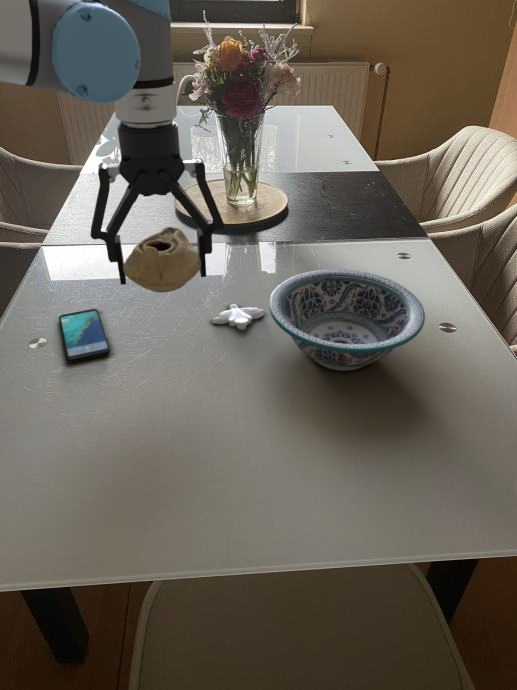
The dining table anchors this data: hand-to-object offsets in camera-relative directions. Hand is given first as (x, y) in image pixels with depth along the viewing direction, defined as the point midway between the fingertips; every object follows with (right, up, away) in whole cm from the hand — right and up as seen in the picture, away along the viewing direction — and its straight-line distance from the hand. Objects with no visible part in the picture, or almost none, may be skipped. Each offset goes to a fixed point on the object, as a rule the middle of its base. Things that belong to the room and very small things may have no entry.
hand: (163, 276), depth 80 cm
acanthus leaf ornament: (+10, -5, +21) cm, 24 cm away
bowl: (+28, -12, +13) cm, 33 cm away
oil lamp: (0, -1, 0) cm, 1 cm away
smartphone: (-17, -9, +15) cm, 25 cm away
